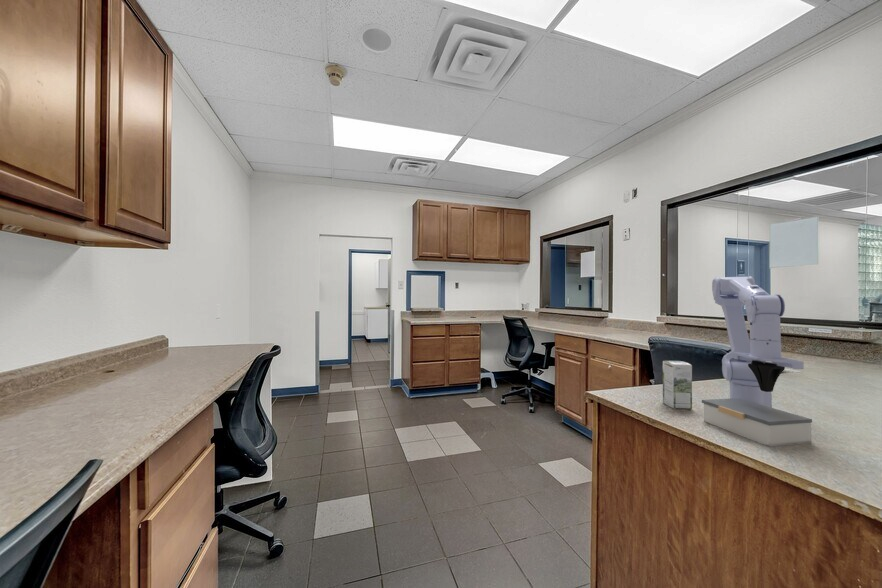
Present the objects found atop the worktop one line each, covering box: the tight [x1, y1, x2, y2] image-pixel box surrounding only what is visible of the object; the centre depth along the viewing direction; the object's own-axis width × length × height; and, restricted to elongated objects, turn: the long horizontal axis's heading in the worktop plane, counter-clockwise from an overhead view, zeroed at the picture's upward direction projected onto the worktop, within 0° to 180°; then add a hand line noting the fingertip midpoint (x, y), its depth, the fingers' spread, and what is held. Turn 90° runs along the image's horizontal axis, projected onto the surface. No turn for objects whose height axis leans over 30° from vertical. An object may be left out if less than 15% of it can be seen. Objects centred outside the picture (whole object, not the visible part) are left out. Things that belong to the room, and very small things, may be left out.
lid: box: [701, 398, 813, 425], centre depth 83 cm, size 13×16×1 cm
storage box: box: [703, 403, 812, 448], centre depth 83 cm, size 12×16×5 cm
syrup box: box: [662, 360, 693, 410], centre depth 102 cm, size 6×6×14 cm
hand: (766, 391), depth 83 cm, fingers closed
